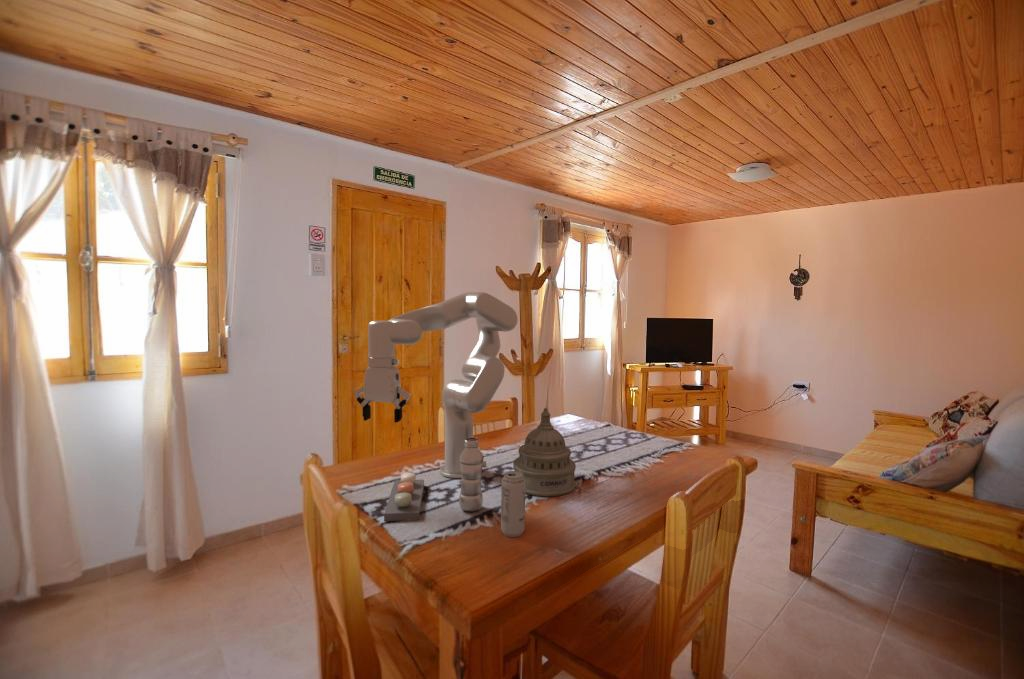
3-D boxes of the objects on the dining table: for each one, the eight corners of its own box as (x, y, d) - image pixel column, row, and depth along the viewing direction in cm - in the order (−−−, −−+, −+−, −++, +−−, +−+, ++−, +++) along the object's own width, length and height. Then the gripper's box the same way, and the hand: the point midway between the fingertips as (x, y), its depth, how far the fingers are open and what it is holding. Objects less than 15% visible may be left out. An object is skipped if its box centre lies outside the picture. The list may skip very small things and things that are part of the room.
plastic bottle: (460, 503, 133) (461, 435, 132) (484, 504, 133) (484, 436, 131) (457, 514, 127) (457, 442, 125) (481, 514, 127) (482, 443, 125)
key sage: (412, 499, 129) (412, 492, 129) (410, 506, 124) (410, 498, 124) (395, 499, 128) (395, 492, 128) (393, 506, 124) (393, 499, 124)
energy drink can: (525, 537, 115) (526, 478, 113) (501, 538, 114) (502, 479, 113) (523, 526, 120) (524, 470, 119) (500, 526, 120) (501, 470, 119)
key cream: (416, 478, 144) (416, 472, 143) (415, 484, 139) (415, 477, 139) (401, 479, 143) (401, 473, 143) (400, 484, 139) (400, 478, 138)
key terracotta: (414, 488, 136) (414, 481, 136) (413, 494, 132) (413, 487, 132) (398, 489, 136) (398, 482, 135) (397, 495, 131) (397, 488, 131)
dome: (506, 412, 140) (522, 399, 159) (504, 492, 142) (521, 470, 161) (572, 417, 134) (581, 403, 154) (570, 501, 136) (579, 476, 156)
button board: (424, 485, 146) (424, 479, 146) (418, 519, 123) (418, 512, 123) (394, 486, 145) (394, 480, 145) (384, 521, 122) (384, 513, 122)
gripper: (414, 362, 137) (415, 419, 139) (360, 360, 140) (361, 415, 142) (404, 365, 130) (404, 425, 131) (347, 363, 133) (348, 422, 134)
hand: (382, 420), depth 137 cm, fingers open, 9 cm apart
